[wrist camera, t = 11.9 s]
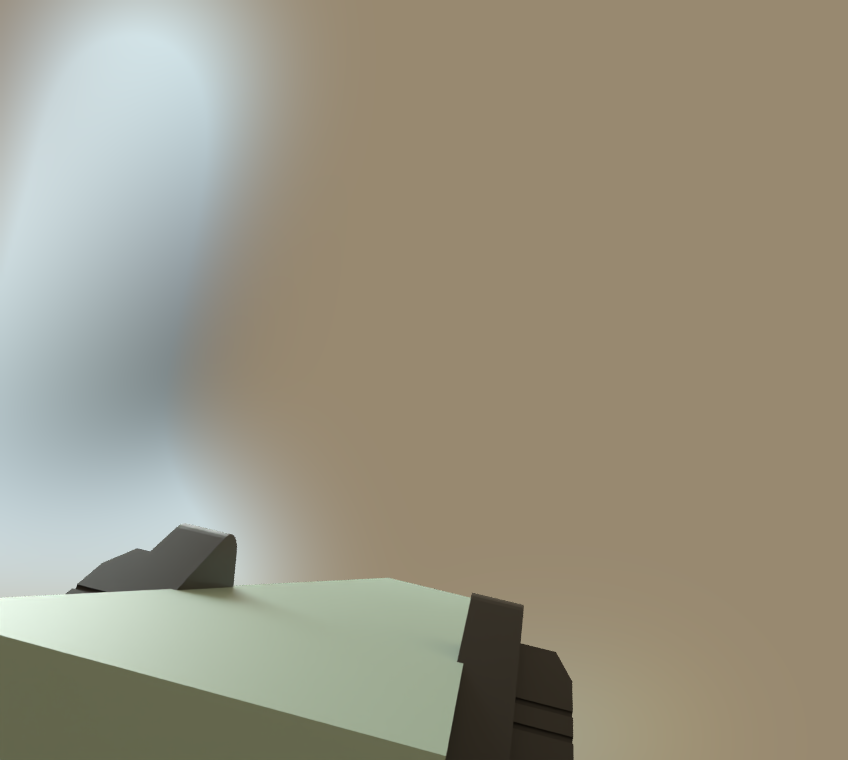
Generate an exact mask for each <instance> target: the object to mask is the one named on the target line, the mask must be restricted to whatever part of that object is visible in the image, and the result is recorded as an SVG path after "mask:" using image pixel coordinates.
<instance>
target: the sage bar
mask: <svg viewBox="0 0 848 760" xmlns="http://www.w3.org/2000/svg"><path fill="white" fill-rule="evenodd" d="M470 600H471V598H469V597H465V596H461V595H456V594H453V593H449V592H444V591H440V590H436V589H432V588H428V587H424V586H420V585H415V584H412V583H408V582H403V581H399V580H395V579H391V578H378V579H377V578H376V579H357V580H339V581H338V580H337V581H318V582H299V583H278V584H259V585H242V586H241V585H240V586H233V587H226V588H208V589H190V590H173V589H161V590H141V591H122V592H102V593H82V594H63V595H43V596H25V597H6V598H0V760H445V758H446V753H447V748H448V743H449V737H450V732H451V727H452V721H453V716H454V711H455V705H456V700H457V695H458V689H459V684H460V679H461V673H462V668H463V663H459V662H457V659H458V655H459V650H460V646H461V641H462V637H463V632H464V627H465V623H466V618H467V614H468V609H469V604H470Z"/></svg>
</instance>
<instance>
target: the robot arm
mask: <svg viewBox="0 0 848 760" xmlns="http://www.w3.org/2000/svg"><path fill="white" fill-rule="evenodd" d="M236 553H237V543H236V539H235V537H234V535H232V534H227V533H223V532H219V531H214V530H211V529H207V528H202V527H198V526H194V525H190V524H181V525H179V526H178V527H177V528H176V529H175V530H173V531H172V532H171V533H170V534H169V535H168V536H167V537H166V538H165V539H163V540H162V542H160V543H159V544H158V545H157V546H156V547H155V548H154V549H153V550H151V551H146V550H142V549H135V550H132V551H130V552H127V553H125V554H123V555H120V556H118V557H115V558H113V559H111V560H108V561H106V562H104V563H102V564H101V565H99V566H98V567H97V568H96V569H95V570H93V571H92V572H91V573H90V574H89V575H88V576H86V577H85V578H84V579H83V580H82V581H80V582H79V583H78V584H77V587H76V589H71V590H70V591H69V592H67V593H66V594H82V593H102V592H122V591H141V590H161V589H173V590H190V589H208V588H226V587H233V584H234V574H235V563H236ZM523 608H524V606H523V605H521V604H517V603H513V602H508V601H504V600H500V599H496V598H492V597H488V596H483V595H479V594H475V593H472V595H471V600H470V604H469V609H468V614H467V618H466V623H465V627H464V632H463V637H462V641H461V646H460V650H459V655H458V659H457V662H459V663H463V668H462V673H461V679H460V684H459V689H458V695H457V700H456V705H455V711H454V716H453V721H452V727H451V732H450V737H449V743H448V748H447V753H446V758H445V760H573V744H572V739H573V718H572V712H573V705H572V704H573V703H572V680H571V679H570V677H569V675H568V673H567V671H566V670H565V668H564V666H563V664H562V662H561V660H560V659H559V657H558V655H557V653H556V652H553V651H549V650H545V649H541V648H537V647H533V646H529V645H525V644H521V643H520V642H521V631H522V619H523Z"/></svg>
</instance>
